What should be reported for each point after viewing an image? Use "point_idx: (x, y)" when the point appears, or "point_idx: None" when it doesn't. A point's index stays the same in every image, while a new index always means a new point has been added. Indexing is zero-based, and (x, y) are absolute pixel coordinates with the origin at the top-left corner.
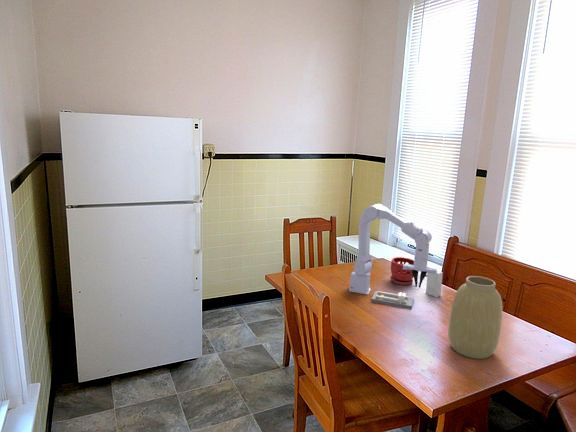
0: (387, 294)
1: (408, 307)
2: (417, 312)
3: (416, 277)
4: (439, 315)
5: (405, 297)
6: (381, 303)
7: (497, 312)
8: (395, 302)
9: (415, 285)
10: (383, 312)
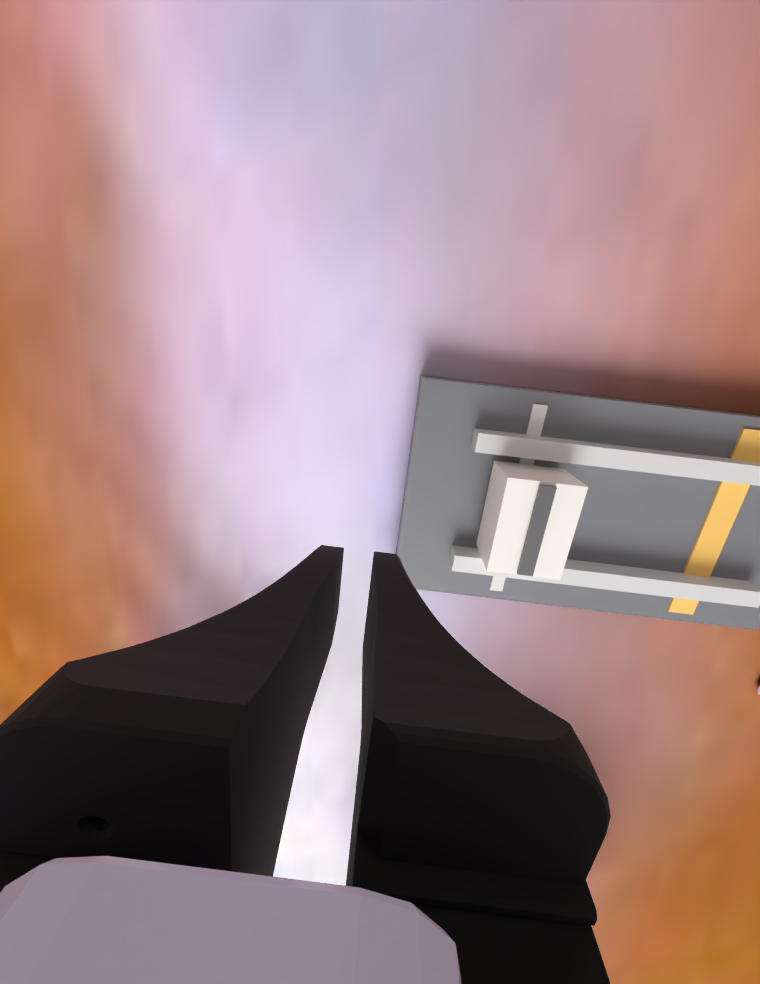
0: (655, 574)
1: (450, 380)
2: (360, 318)
3: (397, 652)
4: (153, 326)
5: (480, 541)
6: (718, 411)
7: None
8: (591, 416)
9: (398, 560)
10: (746, 158)
